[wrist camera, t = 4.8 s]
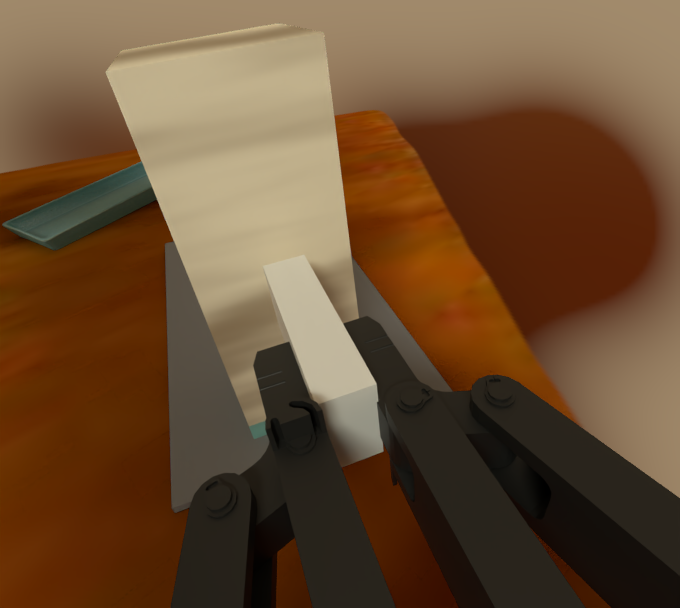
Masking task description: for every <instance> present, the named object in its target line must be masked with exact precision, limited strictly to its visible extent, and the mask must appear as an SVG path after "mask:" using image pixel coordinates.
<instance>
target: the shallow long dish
mask: <svg viewBox="0 0 680 608" xmlns="http://www.w3.org/2000/svg"><path fill="white" fill-rule="evenodd" d="M155 200H157V198H156V195H155V193H154V190H153V188H152V185H151V183H150V180H149V178H148V175H147V173H146V171H145V168H144V166H143V163H142V162H139V163H137V164H135V165H133V166H130V167H128V168H126V169H124V170H121V171H119V172H117V173H115V174H112V175H110V176H108V177H105V178H103V179H101V180H99V181H96V182H94V183H92V184H89V185H87V186H85V187H83V188H80V189H78V190H76V191H74V192H71V193H69V194H67V195H65V196H62V197H60V198H58V199H55V200H53V201H51V202H49V203H46V204H44V205H42V206H40V207H38V208H35V209H33V210H31V211H29V212H27V213H24V214H22V215H20V216H18V217H15V218H13V219H11V220H9V221H7V222H5V223H3V225H2V226H3V227H5V228H7V229H8V230H10V231H12V232H13V233H15V234H17V235H19V236H20V237H23V238H26V239H28V240H31V241H33V242H36V243H38V244H40V245H43V246H45V247H47V248H50V249H52V250H58V249H60V248H62V247H64V246H66V245H68V244H70V243H72V242H74V241H76V240H78V239H80V238H82V237H84V236H86V235H88V234H90V233H92V232H94V231H96V230H98V229H100V228H102V227H104V226H106V225H108V224H110V223H112V222H114V221H116V220H118V219H119V218H121V217H123V216H125V215H127V214H129V213H131V212H133V211H135V210H137V209H139V208H141V207H143V206H145V205H147V204H149V203H151V202H153V201H155Z"/></svg>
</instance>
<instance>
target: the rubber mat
mask: <svg viewBox="0 0 680 608" xmlns="http://www.w3.org/2000/svg"><path fill="white" fill-rule="evenodd" d="M351 258H352V266H353V274H354V282H355V290H356V299H357V307H358V315H359V318H362V317H365V316H368V317H370V318H372V319H373V320H375V321H377V322H378V323H380V324H381V326H382V327H383V329H384V330H385V332H386V333H387V335H388V337H389V338H390V339H391V341H392V342H393V344H394V346H395V347H396V348H397V350H398V351H399V353H400V354H401V355H402V357H403V358H404V360H405V361H406V363H407V364H408V366H409V367H410V369H411V370H412V372H413V373H414V375H415V376H416V378H417V379H418V380H419V381H420V382H422V383H424V384H426V385H428V386H430V387H431V388H432V389H433V390H437V391H442V392H453V391H452V390H451V388H450V387H449V386H448V384H447V383H446V382H445V380H444V379H443V378H442V376H441V375H440V374H439V372H438V371H437V370H436V368H435V367H434V366H433V364H432V363H431V362H430V360H429V359H428V358H427V356H426V355H425V354H424V352H423V351H422V350H421V348H420V347H419V346H418V344H417V343H416V342H415V340H414V339H413V338H412V336H411V335H410V333H409V332H408V331H407V329H406V328H405V327H404V325H403V324H402V323H401V321H400V320H399V319H398V317H397V316H396V315H395V313H394V312H393V311H392V309H391V308H390V307H389V305H388V304H387V303H386V301H385V300H384V299H383V297H382V296H381V295H380V293H379V292H378V291H377V289H376V288H375V287H374V285H373V284H372V283H371V281H370V280H369V279H368V277H367V276H366V275H365V273H364V272H363V271H362V269H361V268H360V267H359V265H358V264H357V263H356V261H355V260H354V259H353V257H352V256H351ZM165 266H166V305H167V344H168V383H169V422H170V461H171V500H172V510H173V511H174V512H175V513H176V512H179V511H182V510H184V509H187V508H190V504H191V501H192V499H193V496H194V494H195V493H196V491H197V490H198V489H199V488H200V486H201V485H202V484H203V483H204V482H206V481H207V480H209V479H210V478H212V477H213V476H216V475H219V474H222V473H236V474H238V475H240V474H241V473H243V472H244V471H246V470H247V469H248V468H250V467H251V466H252V465H254V464H255V463H256V462H257V461H258V460H259V459H260V458H261V457H262V456H263V454H264V453H265V452H266V449H267V447H268V445H269V439H268V436H267V435H264V436H262V437H259V438H256V439H254V438H253V435H252V433H251V430H250V428H249V425H248V423H247V421H246V418H245V416H244V413H243V411H242V408H241V406H240V403H239V401H238V398H237V396H236V393H235V391H234V388H233V386H232V383H231V381H230V378H229V376H228V374H227V371H226V369H225V366H224V364H223V361H222V359H221V356H220V354H219V351H218V349H217V346H216V344H215V341H214V339H213V336H212V334H211V331H210V329H209V326H208V324H207V322H206V319H205V317H204V314H203V312H202V309H201V307H200V304H199V302H198V299H197V297H196V294H195V292H194V289H193V287H192V284H191V282H190V279H189V277H188V274H187V272H186V270H185V267H184V265H183V262H182V260H181V257H180V255H179V252H178V250H177V247H176V245H175V242H170V243H166V244H165Z"/></svg>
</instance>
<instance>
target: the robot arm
mask: <svg viewBox="0 0 680 608" xmlns="http://www.w3.org/2000/svg"><path fill="white" fill-rule="evenodd" d="M263 269H264V273H265V277H266V280H267V284H268V288H269V291H270V295H271V299H272V302H273V306H274V310H275V313H276V317H277V321H278V324H279V328H280V330H281V333H282V336H283V339H284V341H285V343H283V344H280V345H276V346H273V347H270V348H267V349H264V350H261V351H257V353H256V357H255V360H254V364H253V367H254V371H255V375H256V379H257V383H258V387H259V390H260V395H261V399H262V403H263V407H264V410H265V414H266V420H265V430H266V433H267V436H268V439H269V445H268V447H267V449H266V452H265V453H264V454H263V456H262V457H261V458H260V459H259V460H258V461H257V462H256V463H255V464H254V465H252V466H251V467H250V468H248V469H247V470H246V471H244V472H243V473H241V474H240V475H238V474H236V473H222V474H219V475H216V476H213V477H212V478H210V479H209V480H207V481H206V482H204V483H203V484H202V485H201V486H200V488H199V489H198V490H197V491H196V493H195V494H194V496H193V499H192V501H191V504H190V508H189V513H188V518H187V523H186V529H185V534H184V539H183V545H182V550H181V555H180V560H179V566H178V571H177V576H176V581H175V587H174V592H173V597H172V602H171V608H276V581H277V552H278V551H279V550H280V549H281V548H283V547H284V546H285V545H286V544H287V543H289V542H290V541H291V540H292V539H293V538H294V537H295V539H296V543H297V547H298V551H299V555H300V559H301V563H302V567H303V571H304V575H305V579H306V583H307V587H308V591H309V595H310V599H311V603H312V607H313V608H396V607H395V605H394V602H393V599H392V597H391V594H390V592H389V589H388V587H387V584H386V581H385V579H384V576H383V574H382V571H381V569H380V566H379V563H378V561H377V558H376V556H375V553H374V551H373V548H372V545H371V543H370V540H369V538H368V535H367V533H366V530H365V527H364V525H363V522H362V520H361V517H360V515H359V512H358V509H357V507H356V504H355V502H354V499H353V497H352V494H351V491H350V489H349V486H348V484H347V481H346V479H345V476H344V473H343V471H342V467H344V466H347V465H350V464H352V463H355V462H357V461H360V460H363V459H365V458H368V457H371V456H373V455H376V454H378V453H381V452H384V451H383V443H384V445H385V447H386V449H387V451H388V453H389V455H390V466H391V478H392V482H393V486H394V485H396V484H397V481H398V483H399V485H400V487H401V489H402V491H403V493H404V495H405V497H406V500H407V502H408V504H409V506H410V508H411V510H412V512H413V514H414V516H415V518H416V520H417V522H418V524H419V526H420V528H421V530H422V532H423V534H424V536H425V538H426V541H427V543H428V545H429V547H430V549H431V551H432V553H433V555H434V557H435V559H436V561H437V563H438V565H439V567H440V569H441V571H442V573H443V575H444V577H445V580H446V582H447V584H448V586H449V588H450V590H451V592H452V594H453V596H454V598H455V600H456V602H457V604H458V606H459V608H585V606H584V605H583V603H582V602H581V601H580V599H579V598H578V596H577V595H576V593H575V592H574V590H573V589H572V588H571V586H570V585H569V583H568V582H567V580H566V579H565V578H564V576H563V575H562V573H561V572H560V570H559V569H558V567H557V566H556V565H555V563H554V562H553V560H552V559H551V557H550V556H549V554H548V553H547V552H546V550H545V549H544V547H543V546H542V544H541V543H540V542H539V540H538V539H537V537H536V536H535V534H534V533H533V531H534V532H535V533H536V534H537V535H538V536H539V537H540V538H541V539H542V540H543V541H544V542H545V543H546V544H547V545H548V546H549V547H550V548H551V549H552V550H554V551H555V552H556V553H557V554H558V555H559V556H560V557H561V558H562V559H563V560H564V561H565V562H566V563H567V564H568V565H569V566H570V567H571V568H572V569H573V570H574V571H575V572H576V573H577V574H578V575H579V576H580V577H581V578H582V579H583V580H584V581H585V582H586V583H587V584H588V585H589V586H590V587H591V588H592V589H593V590H594V591H595V592H596V593H597V594H598V595H599V596H600V597H601V598H602V599H603V600H604V601H605V602H606V603H607V604H608V605H609V606H610V607H611V608H680V498H679V497H677V496H676V495H674V494H673V493H672V492H670V491H669V490H668V489H666V488H665V487H663V486H662V485H661V484H659V483H658V482H656V481H655V480H654V479H652V478H651V477H649V476H648V475H647V474H645V473H644V472H642V471H641V470H640V469H638V468H637V467H636V466H634V465H633V464H631V463H630V462H628V461H627V460H626V459H624V458H623V457H622V456H620V455H619V454H617V453H616V452H615V451H613V450H612V449H611V448H609V447H608V446H606V445H605V444H604V443H602V442H601V441H599V440H598V439H597V438H595V437H594V436H592V435H591V434H590V433H588V432H587V431H585V430H584V429H583V428H581V427H580V426H579V425H577V424H576V423H574V422H573V421H572V420H570V419H569V418H567V417H566V416H565V415H563V414H562V413H560V412H559V411H558V410H556V409H555V408H553V407H552V406H551V405H549V404H548V403H547V402H545V401H544V400H542V399H541V398H540V397H538V396H537V395H535V394H534V393H533V392H531V391H530V390H528V389H527V388H526V387H524V386H523V385H521V384H520V383H519V382H517V381H515V380H513V379H511V378H509V377H506V376H501V375H487V376H485V377H482V378H480V379H478V380H477V381H476V382H475V383H474V384H473V386H472V390H471V391H455V392H442V391H437V390H433V389H432V388H431V387H430V386H428V385H426V384H424V383H422V382H420V381H419V380H418V379H417V378H416V376H415V375H414V373H413V372H412V370H411V369H410V367H409V366H408V364H407V363H406V361H405V360H404V358H403V357H402V355H401V354H400V353H399V351H398V350H397V348H396V347H395V346H394V344H393V342H392V341H391V339H390V338H389V337H388V335H387V333H386V332H385V330H384V329H383V327H382V326H381V324H380V323H378V322H377V321H375V320H373V319H372V318H370V317H368V316H365V317H362V318H358V319H355V320H352V321H349V322H346V323H342V321H341V319H340V318H339V316H338V314H337V312H336V310H335V309H334V307H333V305H332V303H331V302H330V300H329V298H328V296H327V294H326V293H325V291H324V289H323V287H322V285H321V284H320V282H319V280H318V278H317V277H316V275H315V273H314V271H313V269H312V268H311V266H310V264H309V262H308V260H307V259H306V257H305V255H301V256H297V257H294V258H290V259H286V260H283V261H279V262H276V263H272V264H269V265H265V266H263ZM382 441H383V442H382ZM530 528H531V529H532V530H533V531H532V530H531V529H530Z"/></svg>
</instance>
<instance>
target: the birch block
mask: <svg viewBox="0 0 680 608" xmlns="http://www.w3.org/2000/svg"><path fill="white" fill-rule="evenodd" d="M106 74H107V76H108V79H109V81H110V84H111V86H112V89H113V91H114V94H115V96H116V99H117V101H118V104H119V106H120V109H121V111H122V114H123V116H124V118H125V121H126V123H127V126H128V128H129V131H130V133H131V136H132V138H133V141H134V143H135V146H136V148H137V151H138V153H139V156H140V158H141V161H142V163H143V166H144V168H145V171H146V173H147V175H148V178H149V180H150V183H151V185H152V188H153V190H154V193H155V195H156V198H157V200H158V203H159V205H160V208H161V210H162V213H163V215H164V218H165V220H166V223H167V225H168V227H169V230H170V232H171V235H172V237H173V240H174V242H175V245H176V247H177V250H178V252H179V255H180V257H181V260H182V262H183V265H184V267H185V270H186V272H187V274H188V277H189V279H190V282H191V284H192V287H193V289H194V292H195V294H196V297H197V299H198V302H199V304H200V307H201V309H202V312H203V314H204V317H205V319H206V322H207V324H208V326H209V329H210V331H211V334H212V336H213V339H214V341H215V344H216V346H217V349H218V351H219V354H220V356H221V359H222V361H223V364H224V366H225V369H226V371H227V374H228V376H229V378H230V381H231V383H232V386H233V388H234V391H235V393H236V396H237V398H238V401H239V403H240V406H241V408H242V411H243V413H244V416H245V418H246V421H247V423H248V425H249V428H250V430H251V433H252V435H253V438H254V439H256V438H259V437H262V436H264V435H267V433H266V430H265V420H266V414H265V410H264V407H263V403H262V399H261V395H260V390H259V387H258V383H257V379H256V375H255V371H254V367H253V364H254V360H255V357H256V353H257V351H261V350H264V349H267V348H270V347H273V346H276V345H280V344H283V343H285V341H284V339H283V336H282V333H281V330H280V328H279V324H278V321H277V317H276V313H275V310H274V306H273V302H272V299H271V295H270V291H269V288H268V284H267V280H266V277H265V273H264V269H263V266H265V265H269V264H272V263H276V262H279V261H283V260H286V259H290V258H294V257H297V256H301V255H305V257H306V259H307V260H308V262H309V264H310V266H311V268H312V269H313V271H314V273H315V275H316V277H317V278H318V280H319V282H320V284H321V285H322V287H323V289H324V291H325V293H326V294H327V296H328V298H329V300H330V302H331V303H332V305H333V307H334V309H335V310H336V312H337V314H338V316H339V318H340V319H341V321H342V323H346V322H349V321H352V320H355V319H358V318H359V315H358V307H357V299H356V290H355V282H354V274H353V266H352V258H351V250H350V242H349V233H348V225H347V217H346V209H345V201H344V193H343V185H342V176H341V168H340V160H339V152H338V144H337V136H336V128H335V119H334V112H333V104H332V95H331V87H330V80H329V71H328V62H327V54H326V47H325V38H324V33H323V32H318V31H313V30H309V29H304V28H299V27H294V26H290V25H285V24H280V23H277V24H272V25H266V26H260V27H254V28H249V29H243V30H237V31H231V32H226V33H220V34H214V35H208V36H202V37H197V38H191V39H185V40H179V41H173V42H168V43H162V44H156V45H150V46H145V47H139V48H133V49H127V50H122V51H121V52H120V53H119V54H118V56H117V57H116V59H115V60H114V61H113V63H112V64H111V66H110V67H109V68H108V70H107V71H106Z"/></svg>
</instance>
